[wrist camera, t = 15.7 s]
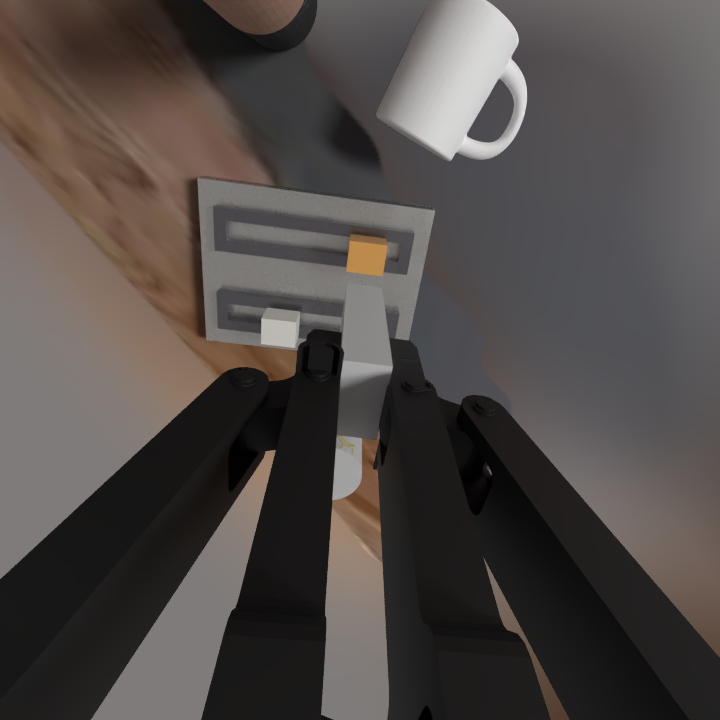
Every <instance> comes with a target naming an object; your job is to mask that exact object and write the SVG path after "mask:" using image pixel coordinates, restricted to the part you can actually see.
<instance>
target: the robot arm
mask: <svg viewBox="0 0 720 720" xmlns="http://www.w3.org/2000/svg"><path fill="white" fill-rule="evenodd" d="M379 430H380V440H379V444H378V449H377V453H376V457H375V462H374V466H373V469H377V466H378V480H379V500H380V519H381V539H382V559H383V577H384V578H383V579H384V598H385V616H386V617H385V618H386V638H387V657H388V678H389V711H388V719H387V720H551V719H550V716H549V713H548V710H547V707H546V704H545V701H544V698H543V695H542V691H541V688H540V685H539V682H538V679H537V676H536V673H535V669H534V666H533V663H532V660H531V657H530V655H529V652H528V650H527V647H526V645H525V643H524V641H523V640H522V639H521V638H520V636H519V635H518V634H517V633H514V632H511V631H508V630H507V629H506V628H505V627H504V625H503V623H502V621H501V618H500V615H499V611H498V608H497V604H496V601H495V597H494V594H493V590H492V586H491V583H490V580H489V576H488V572H487V569H486V565H485V562H484V559H485V561H486V563H487V564H488V566H489V568H490V570H491V572H492V574H493V576H494V578H495V579H496V581H497V583H498V585H499V587H500V589H501V591H502V593H503V595H504V596H505V598H506V600H507V602H508V604H509V606H510V608H511V610H512V611H513V613H514V615H515V617H516V619H517V621H518V623H519V625H520V627H521V628H522V630H523V632H524V634H525V636H526V638H527V640H528V642H529V644H530V645H531V647H532V649H533V651H534V653H535V655H536V656H537V659H538V660H539V662H540V664H541V666H542V668H543V670H544V672H545V674H546V676H547V677H548V679H549V681H550V683H551V685H552V687H553V689H554V691H555V692H556V694H557V696H558V698H559V700H560V702H561V704H562V706H563V708H564V709H565V711H566V713H567V715H568V717H569V719H570V720H720V658H719V657H718V655H717V654H716V653H715V652H714V651H713V650H712V649H711V647H710V646H709V645H708V644H707V643H706V642H705V640H704V639H703V638H702V637H701V636H700V635H699V634H698V632H697V631H696V630H695V629H694V628H693V626H692V625H691V624H690V623H689V622H688V621H687V620H686V618H685V617H684V616H683V615H682V614H681V612H680V611H679V610H678V609H677V608H676V607H675V606H674V604H673V603H672V602H671V601H670V600H669V599H668V597H667V596H666V595H665V594H664V593H663V592H662V590H661V589H660V588H659V587H658V586H657V585H656V583H655V582H654V581H653V580H652V579H651V578H650V576H649V575H648V574H647V573H646V572H645V571H644V570H643V568H642V567H641V566H640V565H639V564H638V563H637V561H636V560H635V559H634V558H633V557H632V556H631V554H629V552H628V551H627V550H626V549H625V547H624V546H623V545H622V544H621V543H620V542H619V541H618V539H617V538H616V537H615V536H614V535H613V534H612V532H610V530H609V529H608V528H607V527H606V525H605V524H604V523H603V522H602V521H601V520H600V518H599V517H598V516H597V515H596V514H595V513H594V511H593V510H592V509H591V508H590V507H589V506H588V504H587V503H586V502H585V501H584V500H583V499H582V498H581V497H580V495H579V494H578V493H577V492H576V491H575V489H574V488H573V487H572V486H571V485H570V484H569V482H568V481H567V480H566V479H565V478H564V477H563V476H562V474H561V473H560V472H559V471H558V470H557V469H556V467H555V466H554V465H553V464H552V463H551V462H550V460H549V459H548V458H547V457H546V456H545V455H544V453H543V452H542V451H541V450H540V449H539V448H538V446H537V445H536V444H535V443H534V442H533V441H532V440H531V438H530V437H529V436H528V435H527V434H526V432H525V431H524V430H523V429H522V428H521V427H520V426H519V424H518V423H517V422H516V421H515V420H514V419H513V417H512V416H511V415H510V414H509V413H508V412H507V410H506V409H505V408H504V407H503V406H502V405H500V404H499V403H498V402H496V401H494V400H492V399H491V398H488V397H485V396H479V395H471V396H466V397H465V398H463V399H462V402H461V405H459V404H455V403H452V402H449V401H446V400H444V399H441V398H440V397H438V396H437V393H436V389H435V388H434V386H433V384H431V383H430V382H429V381H428V380H426V379H425V377H424V373H423V369H422V365H421V363H420V358H419V354H418V350H417V347H416V346H415V345H414V344H413V343H412V342H411V341H409V340H402V339H395V338H389V335H388V328H387V320H386V313H385V306H384V299H383V292H382V288H381V287H374V286H367V285H360V284H353V283H347V285H346V292H345V299H344V306H343V313H342V320H341V328H340V332H335V331H328V330H320V329H314V330H312V331H311V332H310V333H309V334H307V338H306V341H304V342H302V343H300V345H299V346H298V351H297V362H296V373H295V375H294V376H292V377H290V378H288V379H285V380H279V381H269V379H268V376H267V375H266V374H265V373H264V372H262V371H260V370H257V369H255V368H249V367H239V368H234V369H231V370H228V371H226V372H225V373H223V374H222V375H221V376H219V377H218V378H217V379H216V380H215V381H214V382H213V383H212V384H211V385H210V386H209V387H208V388H207V389H206V390H204V391H203V392H202V393H201V394H200V395H199V396H198V397H197V398H196V399H195V400H194V401H192V402H191V403H190V404H189V405H188V406H187V407H186V408H185V409H184V410H183V411H182V412H181V413H180V414H178V416H176V417H175V418H174V419H173V420H172V421H171V422H170V423H169V424H168V425H167V426H165V427H164V428H163V429H162V430H161V431H160V432H159V433H158V434H157V435H156V436H155V437H154V438H152V439H151V440H150V441H149V442H148V443H147V444H146V445H145V446H144V447H143V448H142V449H141V450H140V451H138V452H137V454H135V455H134V456H133V457H132V458H131V459H130V460H129V461H128V462H127V463H126V464H124V465H123V466H122V467H121V468H120V469H119V470H118V471H117V472H116V473H115V474H114V475H113V476H112V477H110V478H109V479H108V480H107V481H106V482H105V483H104V484H103V485H102V486H101V487H100V488H99V489H97V491H95V492H94V493H93V494H92V495H91V496H90V497H89V498H88V499H87V500H85V502H83V503H82V504H81V505H80V506H79V507H78V508H77V509H76V510H75V511H74V512H73V513H72V514H70V515H69V516H68V517H67V518H66V519H65V520H64V521H63V522H62V523H61V524H60V525H58V527H57V528H55V529H54V530H53V531H52V532H51V533H50V534H49V535H48V536H47V537H46V538H44V539H43V540H42V541H41V542H40V543H39V544H38V545H37V546H36V547H35V548H34V549H33V550H31V551H30V552H29V553H28V554H27V555H26V556H25V557H24V558H23V559H22V560H21V561H20V562H19V563H17V565H15V566H14V567H13V568H12V569H11V570H10V571H9V572H8V573H7V574H6V575H5V576H3V577H2V578H1V579H0V720H91V718H92V717H93V715H94V714H95V712H96V711H97V709H98V708H99V706H100V705H101V703H102V702H103V700H104V699H105V697H106V696H107V694H108V692H109V691H110V690H111V688H112V687H113V685H114V684H115V682H116V680H117V679H118V678H119V676H120V674H121V673H122V671H123V670H124V668H125V667H126V665H127V664H128V662H129V661H130V659H131V658H132V656H133V655H134V653H135V652H136V650H137V649H138V647H139V646H140V644H141V643H142V641H143V640H144V638H145V637H146V635H147V634H148V632H149V631H150V629H151V628H152V626H153V624H154V623H155V622H156V620H157V618H158V617H159V615H160V614H161V612H162V611H163V609H164V608H165V606H166V605H167V603H168V602H169V600H170V599H171V597H172V596H173V594H174V593H175V591H176V590H177V588H178V587H179V585H180V584H181V582H182V581H183V579H184V577H185V576H186V575H187V573H188V572H189V570H190V568H191V567H192V565H193V564H194V562H195V561H196V559H197V558H198V556H199V555H200V553H201V552H202V550H203V549H204V547H205V546H206V544H207V543H208V541H209V540H210V538H211V537H212V535H213V534H214V532H215V531H216V529H217V527H218V526H219V525H220V523H221V522H222V520H223V518H224V517H225V515H226V514H227V512H228V511H229V509H230V508H231V506H232V505H233V503H234V502H235V500H236V499H237V497H238V495H239V494H240V493H241V491H242V490H243V488H244V487H245V485H246V484H247V482H248V480H249V479H250V478H251V476H252V475H253V473H254V471H255V470H256V468H257V467H258V465H259V464H260V462H261V461H262V459H263V458H264V455H265V451H270V450H276V452H275V456H274V460H273V464H272V468H271V472H270V476H269V480H268V484H267V488H266V492H265V496H264V500H263V504H262V508H261V512H260V516H259V520H258V524H257V528H256V532H255V536H254V540H253V544H252V548H251V552H250V555H249V556H250V557H249V560H248V563H247V567H246V572H245V576H244V579H243V583H242V587H241V591H240V596H239V599H238V602H237V605H236V608H235V609H233V610H232V611H231V614H230V616H229V618H228V622H227V625H226V628H225V632H224V635H223V639H222V643H221V647H220V650H219V654H218V658H217V662H216V666H215V670H214V673H213V678H212V681H211V685H210V688H209V692H208V696H207V700H206V704H205V708H204V711H203V715H202V719H201V720H333V719H330V718H327V717H325V716H323V715H321V706H322V691H323V690H322V689H323V675H324V659H325V642H326V617H325V600H326V585H327V571H328V556H329V541H330V527H331V512H332V497H333V483H334V468H335V453H336V439H337V435H339V436H347V437H356V438H365V439H373V440H377V436H378V432H379ZM487 466H489V468H490V470H491V473H492V475H491V474H490V473H489V471H488V470H487ZM483 557H484V558H483Z"/></svg>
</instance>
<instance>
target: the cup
mask: <svg viewBox="0 0 720 720" xmlns="http://www.w3.org/2000/svg"><path fill="white" fill-rule="evenodd" d="M361 478H362V438H356V437H347V436H339V435H337V439H336V453H335V468H334V483H333V497H332V500H337V499H341V498H344V497H346V496H348V495H350V494H351V493H352V492H354V491H355V490H356V489H357V487H358V486H359V484H360V482H361Z"/></svg>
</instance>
